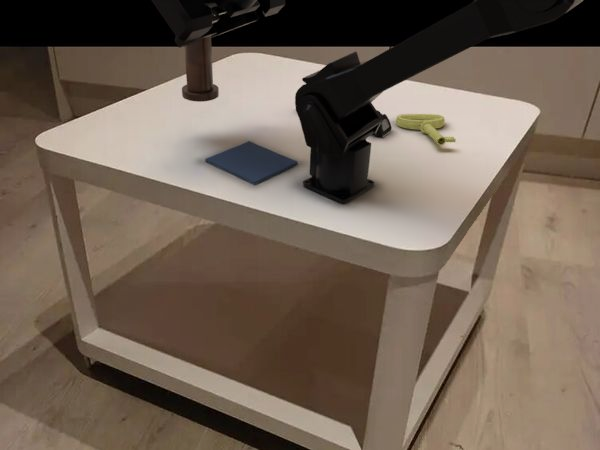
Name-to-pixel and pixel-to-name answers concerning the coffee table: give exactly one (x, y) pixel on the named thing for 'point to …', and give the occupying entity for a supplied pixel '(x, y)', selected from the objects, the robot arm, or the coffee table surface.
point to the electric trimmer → (382, 125)
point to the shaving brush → (199, 72)
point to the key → (425, 125)
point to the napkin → (251, 162)
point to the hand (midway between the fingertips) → (190, 40)
